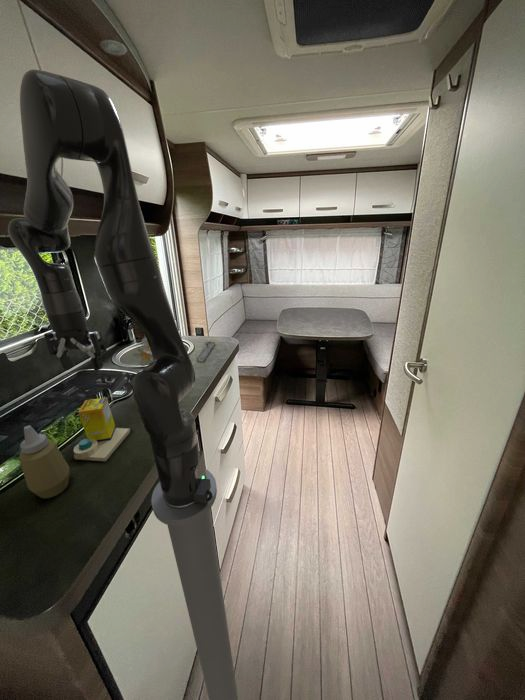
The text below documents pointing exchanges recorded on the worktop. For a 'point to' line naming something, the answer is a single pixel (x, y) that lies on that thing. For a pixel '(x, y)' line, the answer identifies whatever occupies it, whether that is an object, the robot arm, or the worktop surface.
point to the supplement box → (97, 419)
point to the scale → (101, 447)
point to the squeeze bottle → (43, 465)
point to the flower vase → (144, 353)
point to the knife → (206, 352)
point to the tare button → (84, 444)
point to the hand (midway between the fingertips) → (83, 369)
